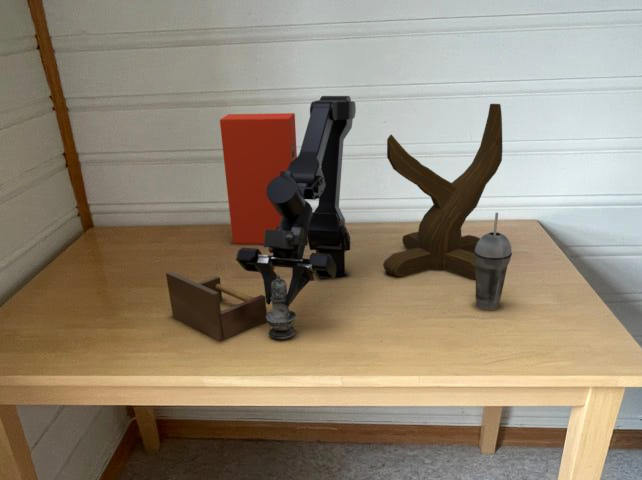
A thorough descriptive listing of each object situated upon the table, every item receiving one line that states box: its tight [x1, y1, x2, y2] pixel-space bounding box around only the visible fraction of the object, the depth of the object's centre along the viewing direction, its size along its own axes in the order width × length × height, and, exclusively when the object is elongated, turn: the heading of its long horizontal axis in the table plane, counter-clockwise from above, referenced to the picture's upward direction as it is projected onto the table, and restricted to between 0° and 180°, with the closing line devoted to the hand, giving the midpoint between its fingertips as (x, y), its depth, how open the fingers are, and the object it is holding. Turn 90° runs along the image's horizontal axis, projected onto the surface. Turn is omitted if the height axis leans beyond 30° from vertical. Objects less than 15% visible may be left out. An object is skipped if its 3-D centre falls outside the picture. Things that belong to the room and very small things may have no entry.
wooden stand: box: [382, 103, 503, 280], centre depth 145 cm, size 29×29×35 cm
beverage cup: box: [474, 211, 513, 311], centre depth 127 cm, size 7×7×20 cm
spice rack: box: [165, 270, 268, 343], centre depth 130 cm, size 12×16×10 cm
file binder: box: [219, 112, 298, 245], centre depth 166 cm, size 8×17×32 cm, turn 80°
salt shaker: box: [266, 274, 297, 340], centre depth 121 cm, size 6×6×12 cm
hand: (277, 304), depth 120 cm, fingers closed on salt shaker, 3 cm apart
